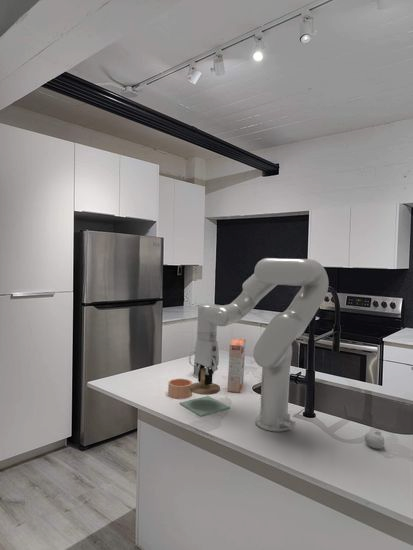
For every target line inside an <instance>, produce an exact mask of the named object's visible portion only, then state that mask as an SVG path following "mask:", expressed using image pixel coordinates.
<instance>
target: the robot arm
mask: <svg viewBox="0 0 413 550" xmlns="http://www.w3.org/2000/svg"><path fill="white" fill-rule="evenodd" d="M329 284H330V283H329V277H328V274H327V270H326V269H325V268H324V266H323V265H322V264H321V263H320V262H318V261H317V260H315V259H310V258H276V257H265V258H262V259H261V260H259V261H258V262H257V263H256V264H255V267H254V273H253V274H251V276H249V277H248V278H247V279H246V280H245V281H244V282H243V283H242V287H241V288H242V291H241V293H240V294H239V295H238V296H237V297H236V298H235V299H234V300H233V301H231V302H230V303H229V304H224V305H220V306H217V305H216V304H213V303H201V304H199V305H198V307H197V326H196V327H197V328H196V329H197V330H196V331H197V332H196V342H195V348H194V349H195V350H194V351H195V353H194V359H195V360H193V361H195V363H196V364H197V367H198V371H199V372H198V378H197V382H200V379H201V369H202V368H206V375H205V385H209V384H212V383H213V375H214V373H215V372H216V371H218V370H219V367H218V366H219V364H220V363H219V361H220V360H219V359H220V356H219V355H220V353H219V342H218V340H217V336H218V335H217V330H218V329H217V328H218V327H222V328H223V327H227V326H230V325H232V324H236V323H237V322H240V321H241V320H242V319H243V318H245V317H246V316H247V315H248V314H249V313H250V312H251V311H252V310H253V309H254V308H255V307H256V305H258V304H259V302H260V301H261V300H262V299H263V298H264V297H265V296H267V294H269V292H271V291H272V290H273V289H274V288H275V287H277V286H278V285H280V286H293V287H294V286H297V287H299V286H300V287H301V288H300V289H299V290H298V292H297V293H296V295H294V298H293V299H292V301H291V302H290V304H289V306H288V307H287V308H286V309H285V310H284V311H283V312H280V313H278V314H276V315H274V316H273V318H272V319H271V320H270V321H269V323H268V324H267V326H266V327H265V328H264V330H263V332H262V334H261V336H260V337H259V338H258V340H257V341H256V343H255V345H254V348H253V360H254V361H255V363H256V364H257V365H258V366H259V367H261V368H262V369H261V385H260V386H261V390H260V410H259V411H260V415H257V416H256V417H255V424H256V426H258V427H259V428H260V429H263V430H266V431H268V432H277V433H278V432H279V433H280V432H286V431H288V430H293V429H294V427H295V426H296V421H294V420H291V414H290V413H289V391H290V390H289V389H290V376H291V375H290V374H291V373H290V372H291V364H292V358H293V346H292V343H293V342H294V341H295V340H296V339H298V338H299V337H301V336H302V335H303V334H304V333H305V331H306V329H307V327H308V326H309V324H310V323H311V321H312V320H313V318H314V317H315V315H316V313H317V312H318V310H319V308H320V307H321V305H322V304H323V302H324V300H325V298H326V297H327V295H328V291H329ZM205 366H206V367H205ZM209 368H210V370H209Z"/></svg>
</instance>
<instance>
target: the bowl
mask: <svg viewBox="0 0 413 550" xmlns="http://www.w3.org/2000/svg"><path fill="white" fill-rule="evenodd" d="M191 384H193V381H192V380H190V379H186V378H174V379H170V380H169V381H168V383H167V385H168V387H167V389H168V390H167V394H168V395H167V396H169V397H170V398H173V399H179V400H180V399H181V400H184V399H187V398H190V397H192V396H193V392H191V391H190V390H189V386H190V385H191Z"/></svg>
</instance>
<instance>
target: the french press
mask: <svg viewBox="0 0 413 550" xmlns="http://www.w3.org/2000/svg"><path fill="white" fill-rule="evenodd" d="M195 347H196V346H195ZM195 347H193V348H194V349H195ZM193 354H195V350H193V351H191V352H190V353H189V357H188V362H189V364H190V365H191V366H192V367H193V373H192V374H193V375H192V374H191V376H193V377H192V378H195V379H198V372H199V371H198V367H197V364H196V363H195V361H194V360H195V358H194V360H193V361H194V362H193V363H194V364H192V362H191V359H192V355H193ZM205 368H206V366H205ZM209 369H211V368H209Z"/></svg>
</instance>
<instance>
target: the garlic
mask: <svg viewBox="0 0 413 550" xmlns="http://www.w3.org/2000/svg"><path fill="white" fill-rule="evenodd" d="M381 434H382V432H381V431H379V430H378V431H369V432H367V433H365V435H364V441H365V444H366V446H369V447H370V448H373V449H376V450H381V449H383V448H384V446H385V439H384V438H385V437H384V436H383V435H381Z"/></svg>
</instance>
